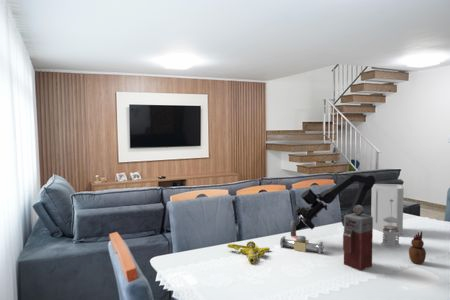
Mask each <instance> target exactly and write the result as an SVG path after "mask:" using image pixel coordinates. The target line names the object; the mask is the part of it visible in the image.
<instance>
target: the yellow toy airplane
mask: <svg viewBox="0 0 450 300" xmlns="http://www.w3.org/2000/svg"><path fill="white" fill-rule="evenodd" d="M226 247H227V248H230V249H235V251H240V253H242V254H244V255H246V256H247V259H248V262H249V263H250V264H255V262H256V261H259V257H262V256H265V254H266V253H265V252H268V251H270V250H271V248H270V246H268V247H259V246H258V245H257V244H256V243H255V242H254V241H251V240H250V241H248V242H247V243H246V245H243V244H242V245H241V244H235V243H228V244H227V245H226Z"/></svg>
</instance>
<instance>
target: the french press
mask: <svg viewBox="0 0 450 300" xmlns="http://www.w3.org/2000/svg"><path fill="white" fill-rule="evenodd" d="M390 202H391V211H392V202H393V200H392V199H390ZM383 220H384V221H386V222H388V225H387V226H384V229H383V232H382V241H381V243H380V244H381V246H383V247H385V248H389V249H390V248H391V249H398V248H401V244H400V241H399V240H400V236H398V235H399V230H397V229H398V227H396V226H392V223H398V222H399V220H398V219H397V218H394V217H385V218H384V219H383ZM389 222H390V223H391V226H390V225H389ZM389 230H391V232H389Z"/></svg>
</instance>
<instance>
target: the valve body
mask: <svg viewBox="0 0 450 300" xmlns="http://www.w3.org/2000/svg"><path fill="white" fill-rule="evenodd" d="M279 244H280V245H279V246H280V248H284V247H285V248H290V249H293V250H294V251H297V252H304V253H306V252H307V251H308V252H314V253H318V254H319V255H321V254H323V253H324V244H323V241H320V242H319V243H312V242H309V239H306V241H305V242H299V241H297V239H294V240H293V239H287V238H286V236H284V235H283V236H282V237H281V238H280V241H279Z"/></svg>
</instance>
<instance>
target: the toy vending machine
mask: <svg viewBox="0 0 450 300" xmlns="http://www.w3.org/2000/svg"><path fill="white" fill-rule="evenodd" d="M353 211H354V213H352V214H348V215H345V216H344V226H343V235H342V251H343V265H344V266H347V267H350V268H351V269H354V270H358V271H363V270H364V271H365V270H367V269H369V268H371V267H373V237H374V235H373V230H374V229H373V217H372V216H371V215H368V214H365V213H364V212H365V208H364V206H363V205H362V206H361V205H357V206H354V208H353Z"/></svg>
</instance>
